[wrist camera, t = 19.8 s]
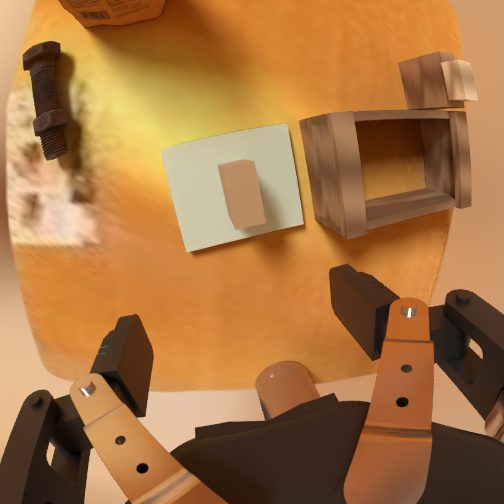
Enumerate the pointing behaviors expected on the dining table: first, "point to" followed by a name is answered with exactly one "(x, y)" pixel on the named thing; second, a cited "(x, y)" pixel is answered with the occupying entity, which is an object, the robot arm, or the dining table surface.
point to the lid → (233, 186)
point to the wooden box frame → (349, 166)
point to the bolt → (46, 98)
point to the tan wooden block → (459, 81)
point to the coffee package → (113, 11)
